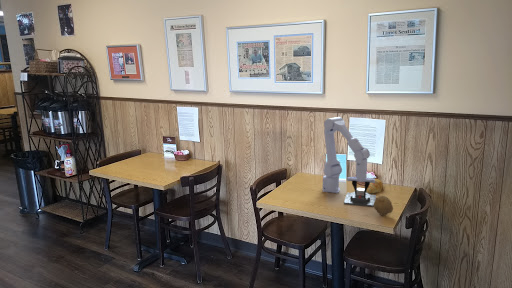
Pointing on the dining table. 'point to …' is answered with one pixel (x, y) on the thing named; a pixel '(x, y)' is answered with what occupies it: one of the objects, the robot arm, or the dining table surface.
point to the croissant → (375, 187)
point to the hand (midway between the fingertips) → (360, 194)
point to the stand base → (360, 200)
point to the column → (360, 192)
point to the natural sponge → (383, 205)
